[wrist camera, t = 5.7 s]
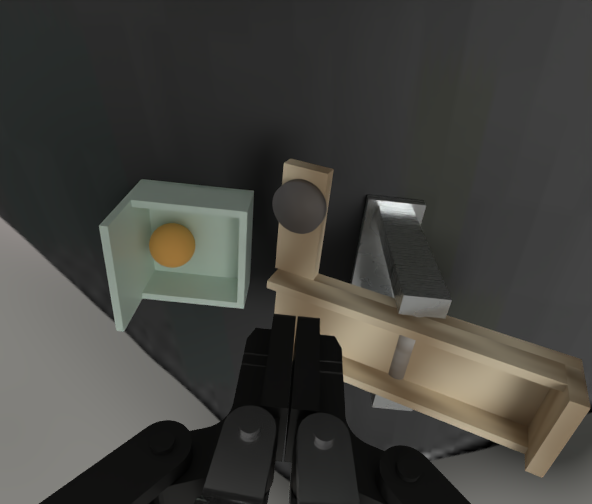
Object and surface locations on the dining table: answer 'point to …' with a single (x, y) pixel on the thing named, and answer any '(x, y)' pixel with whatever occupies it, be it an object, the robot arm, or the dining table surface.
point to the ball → (172, 245)
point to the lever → (423, 343)
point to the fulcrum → (398, 263)
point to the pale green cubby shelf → (205, 261)
